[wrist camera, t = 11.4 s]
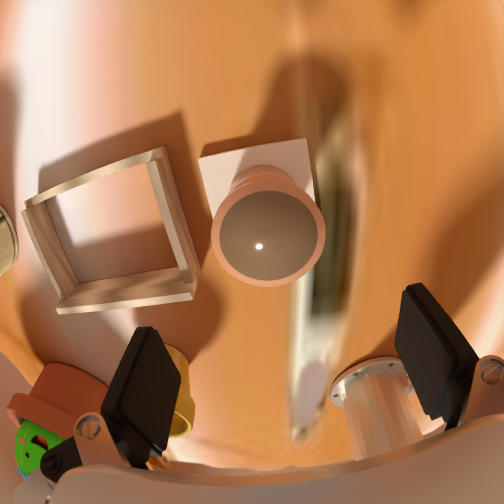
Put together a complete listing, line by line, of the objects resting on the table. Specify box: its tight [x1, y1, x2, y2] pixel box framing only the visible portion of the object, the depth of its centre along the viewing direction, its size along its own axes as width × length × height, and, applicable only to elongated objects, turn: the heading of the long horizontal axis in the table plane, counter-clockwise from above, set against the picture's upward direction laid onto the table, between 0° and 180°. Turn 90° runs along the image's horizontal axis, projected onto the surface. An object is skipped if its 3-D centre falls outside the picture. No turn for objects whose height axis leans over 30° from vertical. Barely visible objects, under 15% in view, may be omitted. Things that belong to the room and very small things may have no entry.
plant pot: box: [164, 344, 195, 438], centre depth 30 cm, size 10×10×10 cm
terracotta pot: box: [211, 165, 326, 287], centre depth 20 cm, size 7×7×8 cm
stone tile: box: [198, 138, 315, 220], centre depth 24 cm, size 9×9×1 cm
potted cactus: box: [6, 363, 109, 479], centre depth 30 cm, size 22×22×25 cm
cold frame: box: [21, 145, 201, 314], centre depth 24 cm, size 17×13×5 cm
